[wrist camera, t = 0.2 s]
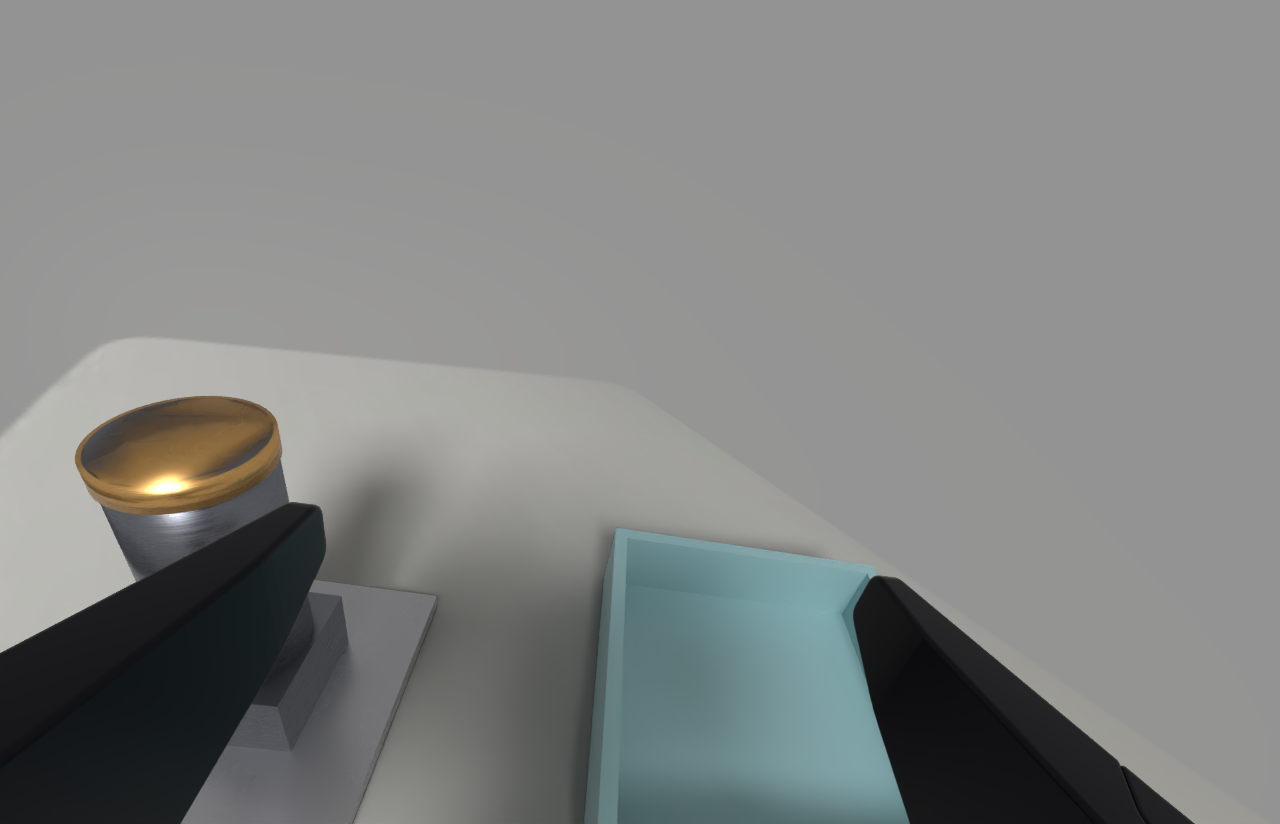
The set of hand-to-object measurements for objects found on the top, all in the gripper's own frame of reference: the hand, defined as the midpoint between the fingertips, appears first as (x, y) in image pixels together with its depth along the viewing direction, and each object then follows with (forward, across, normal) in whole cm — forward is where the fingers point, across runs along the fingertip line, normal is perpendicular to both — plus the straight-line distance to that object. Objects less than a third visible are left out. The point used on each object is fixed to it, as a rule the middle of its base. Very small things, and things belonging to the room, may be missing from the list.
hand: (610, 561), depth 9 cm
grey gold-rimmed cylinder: (+7, +11, +16) cm, 20 cm away
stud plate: (+7, +11, +16) cm, 21 cm away
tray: (+7, -9, +16) cm, 20 cm away
